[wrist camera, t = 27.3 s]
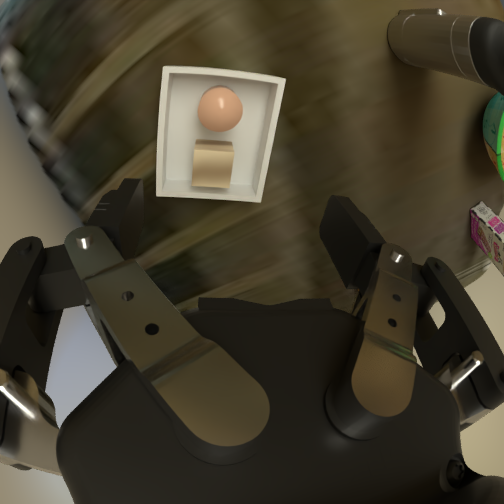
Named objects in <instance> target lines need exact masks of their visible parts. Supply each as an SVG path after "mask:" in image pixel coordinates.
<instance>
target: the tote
mask: <svg viewBox="0 0 504 504" xmlns="http://www.w3.org/2000/svg"><path fill="white" fill-rule="evenodd" d="M285 81H286V79H284V78H280V77H277V76H271V75H265V74H259V73H252V72H245V71H237V70H229V69H219V68H207V67H191V66H163V74H162V84H161V94H160V106H159V120H158V138H157V167H156V196H164V197H186V198H204V199H220V200H235V201H248V202H260V203H261V198H262V194H263V189H264V184H265V179H266V174H267V169H268V164H269V159H270V154H271V149H272V144H273V140H274V135H275V130H276V125H277V120H278V115H279V110H280V105H281V100H282V96H283V91H284V86H285ZM216 85H223V86H226V87H229V88H230V89H232V90H233V91H234V93H235V94H236V95H237V97H238V98H239V99H240V101H241V103H242V106H243V114H242V118H241V120H240V121H239V123H238V124H237V125H236V126H235V127H234V128H232V129H230V130H228V131H224V132H215V131H211V130H209V129H207V128H206V127H204V126H203V125H202V123H201V122H200V120H199V118H198V106H199V103H200V99H201V97H202V95H203V93H204V92H205V91H206V90H207V89H208V88H210V87H213V86H216ZM196 139H205V140H218V141H230V142H232V145H233V149H234V160H233V167H232V174H231V181H230V188H219V187H203V186H191V185H192V171H193V158H194V148H195V142H196Z"/></svg>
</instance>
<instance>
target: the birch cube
mask: <svg viewBox="0 0 504 504" xmlns="http://www.w3.org/2000/svg"><path fill="white" fill-rule="evenodd" d="M233 160H234V149H233V145H232V142H230V141H218V140H205V139H196V142H195V148H194V158H193V171H192V185H191V186H203V187H219V188H230V181H231V174H232V167H233Z"/></svg>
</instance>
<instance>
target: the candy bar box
mask: <svg viewBox="0 0 504 504" xmlns="http://www.w3.org/2000/svg"><path fill="white" fill-rule="evenodd" d="M470 214H471V238H472V239H473V240H474V241H475V242H476V244H477V245H478V246H479V247H480V248H481V249H482V250H483V251H484V253H485V254H486V255H487V256H488V257H489V259H490V260H491V261H492V262H493V264H494V265H495V266H496V267H497V268H498V270H499V271H500V272H501V273H502V275H503V276H504V222H503V221H502V219H501V218H500V217H499V216H497V215H496V214H495V213H494V212H493V211H492V210H491V209H490V208H489V207H488V206H487V205H486V204H484V203H483V202H482V201H481V202H479V203H478V204H477V205H475V206H474V207H472V208H471V209H470Z"/></svg>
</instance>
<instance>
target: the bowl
mask: <svg viewBox="0 0 504 504" xmlns="http://www.w3.org/2000/svg"><path fill="white" fill-rule="evenodd" d="M483 137H484V142H485V146H486V149H487V152H488V154H489V156H490V159H491V160H492V162H493V164H494V165H495V167H496V169H497V171H498V173H499V175H500V177H501V179H502V180H503V181H504V96H503V95H501V94H500V93H499V92H498V93H497V94H496V95H494V96H493V97H492V99H491V100H490V102H489V103H488V105H487V107H486V110H485V113H484V117H483Z"/></svg>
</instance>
